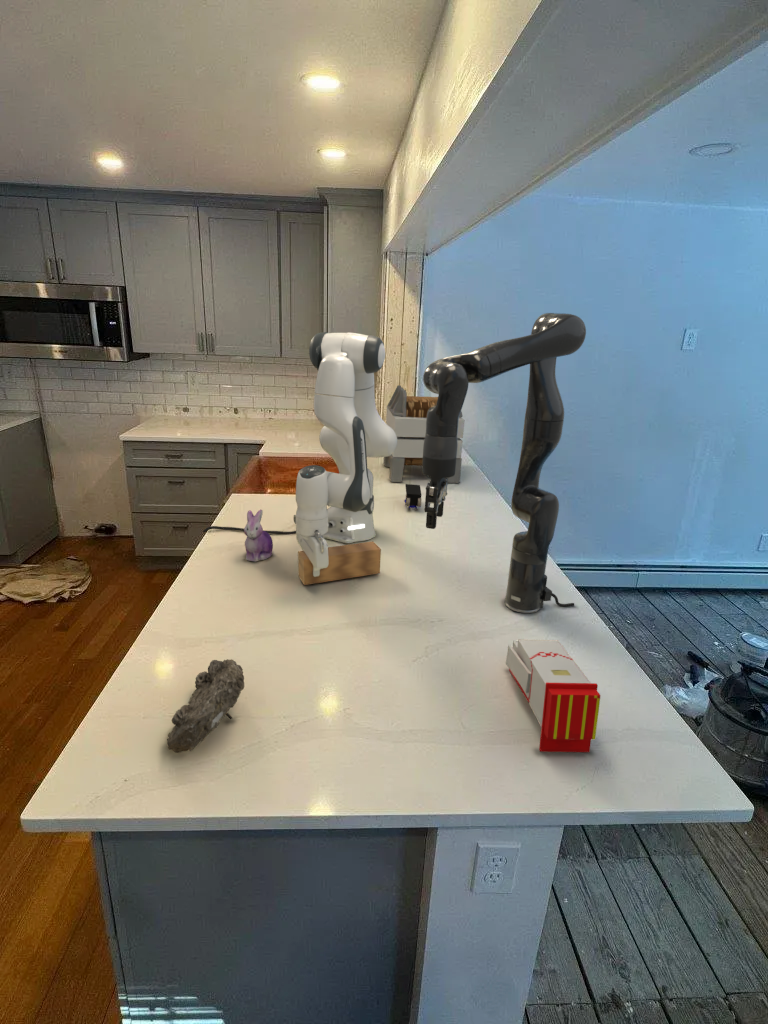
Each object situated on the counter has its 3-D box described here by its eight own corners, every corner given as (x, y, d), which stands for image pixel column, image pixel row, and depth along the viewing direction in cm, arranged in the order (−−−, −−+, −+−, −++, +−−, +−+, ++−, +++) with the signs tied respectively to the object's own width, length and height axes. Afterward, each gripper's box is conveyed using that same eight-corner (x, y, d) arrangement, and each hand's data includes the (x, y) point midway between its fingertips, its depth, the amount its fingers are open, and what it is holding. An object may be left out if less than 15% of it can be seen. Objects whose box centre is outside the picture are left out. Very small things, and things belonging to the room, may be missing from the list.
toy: (554, 622, 128) (610, 691, 98) (548, 677, 130) (601, 759, 101) (501, 621, 127) (541, 690, 98) (496, 676, 130) (534, 758, 101)
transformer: (382, 463, 289) (386, 382, 275) (445, 464, 293) (451, 384, 279) (390, 482, 257) (394, 392, 243) (460, 483, 261) (468, 394, 247)
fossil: (192, 660, 117) (244, 628, 112) (224, 691, 120) (276, 661, 115) (142, 746, 98) (202, 712, 93) (182, 779, 101) (242, 748, 96)
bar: (304, 585, 159) (303, 559, 156) (298, 576, 164) (298, 551, 161) (380, 573, 168) (380, 548, 165) (372, 565, 173) (373, 541, 170)
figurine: (248, 564, 171) (246, 518, 166) (239, 551, 179) (237, 507, 174) (278, 559, 175) (277, 514, 170) (269, 547, 183) (267, 503, 178)
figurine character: (422, 515, 222) (419, 499, 235) (423, 498, 218) (420, 482, 232) (404, 515, 222) (403, 499, 235) (406, 497, 218) (404, 482, 232)
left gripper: (334, 537, 149) (334, 584, 154) (312, 511, 167) (312, 554, 171) (311, 540, 147) (311, 587, 151) (291, 513, 164) (292, 557, 169)
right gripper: (451, 463, 119) (444, 535, 124) (461, 448, 132) (455, 514, 137) (416, 459, 121) (411, 530, 126) (429, 445, 134) (425, 510, 139)
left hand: (312, 569), depth 162 cm, fingers closed on bar, 6 cm apart
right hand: (434, 521), depth 132 cm, fingers open, 8 cm apart
